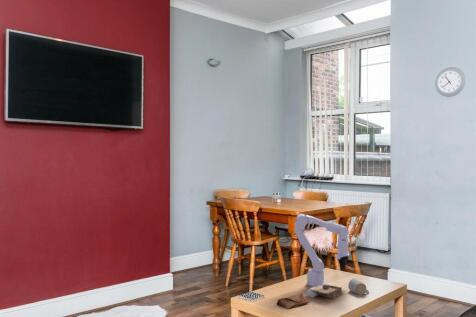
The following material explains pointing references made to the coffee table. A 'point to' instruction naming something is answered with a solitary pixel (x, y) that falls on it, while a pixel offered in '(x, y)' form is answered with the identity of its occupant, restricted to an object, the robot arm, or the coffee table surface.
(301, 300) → the sunglasses case
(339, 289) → the keepsake box
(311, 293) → the white rounded piece
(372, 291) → the coffee table surface
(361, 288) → the ceramic mug
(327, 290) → the lid
